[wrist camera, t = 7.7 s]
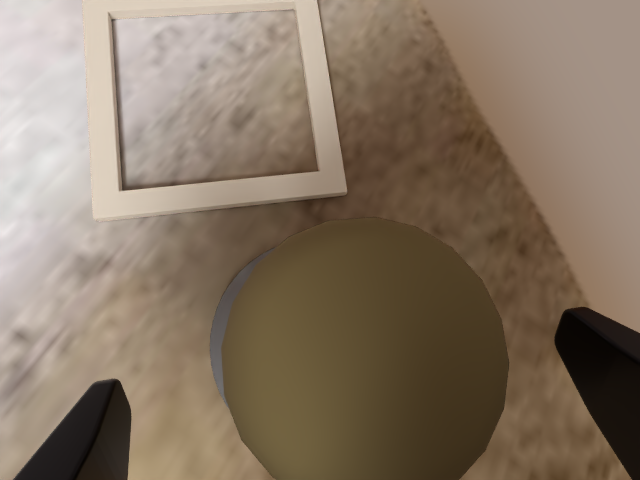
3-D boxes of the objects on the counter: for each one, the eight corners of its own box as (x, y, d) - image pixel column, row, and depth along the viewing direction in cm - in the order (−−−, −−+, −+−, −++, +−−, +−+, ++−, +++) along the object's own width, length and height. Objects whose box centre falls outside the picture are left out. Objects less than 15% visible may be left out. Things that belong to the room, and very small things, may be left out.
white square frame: (345, 195, 20) (347, 191, 19) (97, 222, 18) (93, 218, 18) (312, -11, 22) (314, -19, 21) (86, 0, 20) (81, -8, 20)
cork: (201, 358, 17) (88, 392, 7) (304, 236, 19) (351, 100, 8) (327, 465, 17) (425, 685, 6) (423, 333, 18) (639, 328, 8)
